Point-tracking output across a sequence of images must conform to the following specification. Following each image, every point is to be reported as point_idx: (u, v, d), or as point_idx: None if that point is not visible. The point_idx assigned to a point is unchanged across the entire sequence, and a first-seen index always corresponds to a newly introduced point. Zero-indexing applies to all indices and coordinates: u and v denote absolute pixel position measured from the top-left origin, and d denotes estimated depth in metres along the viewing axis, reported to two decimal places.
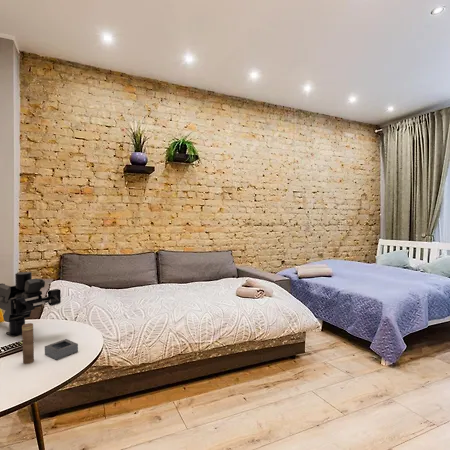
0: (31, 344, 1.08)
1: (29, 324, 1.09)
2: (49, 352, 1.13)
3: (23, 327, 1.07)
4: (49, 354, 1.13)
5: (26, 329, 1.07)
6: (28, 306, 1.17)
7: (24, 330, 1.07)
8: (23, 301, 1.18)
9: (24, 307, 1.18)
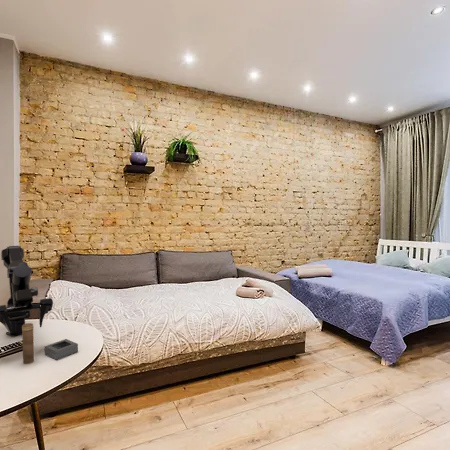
0: (31, 344, 1.08)
1: (29, 324, 1.09)
2: (49, 352, 1.13)
3: (23, 327, 1.07)
4: (49, 354, 1.13)
5: (26, 329, 1.07)
6: (7, 326, 1.09)
7: (24, 330, 1.07)
8: (5, 316, 1.10)
9: (5, 321, 1.11)
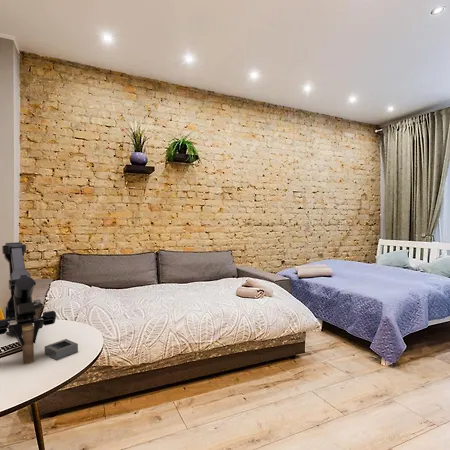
0: (31, 344, 1.08)
1: (29, 324, 1.09)
2: (49, 352, 1.13)
3: (23, 327, 1.07)
4: (49, 354, 1.13)
5: (26, 329, 1.07)
6: (18, 339, 1.07)
7: (24, 330, 1.07)
8: (17, 329, 1.08)
9: (16, 334, 1.09)
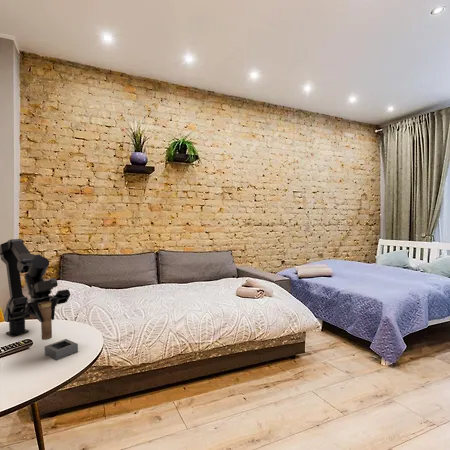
0: (50, 320, 1.12)
1: (47, 301, 1.12)
2: (49, 352, 1.13)
3: (42, 304, 1.10)
4: (49, 354, 1.13)
5: (46, 306, 1.10)
6: (38, 316, 1.10)
7: (44, 307, 1.10)
8: (35, 306, 1.10)
9: (34, 311, 1.11)
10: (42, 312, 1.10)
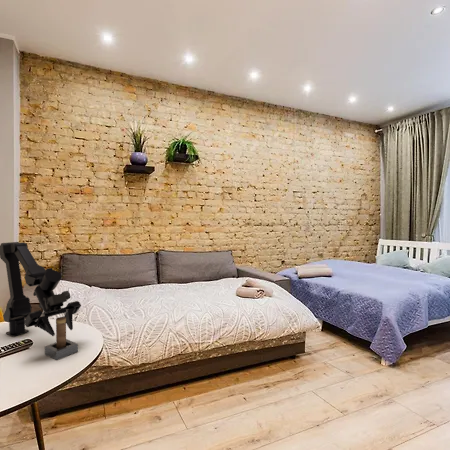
0: (65, 336, 1.15)
1: (62, 317, 1.16)
2: (49, 352, 1.13)
3: (58, 320, 1.14)
4: (49, 354, 1.13)
5: (61, 322, 1.14)
6: (49, 330, 1.12)
7: (59, 323, 1.14)
8: (46, 320, 1.12)
9: (45, 325, 1.13)
10: (58, 328, 1.14)
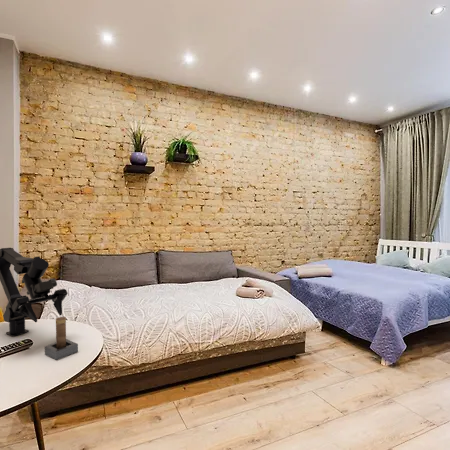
0: (65, 336, 1.15)
1: (62, 317, 1.16)
2: (49, 352, 1.13)
3: (58, 320, 1.14)
4: (49, 354, 1.13)
5: (61, 322, 1.14)
6: (32, 316, 1.16)
7: (59, 323, 1.14)
8: (29, 307, 1.16)
9: (28, 312, 1.17)
10: (58, 328, 1.14)
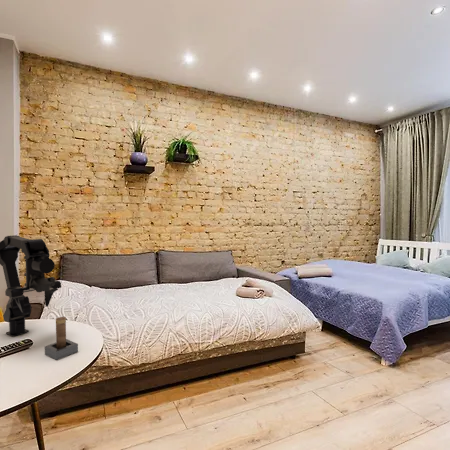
0: (65, 336, 1.15)
1: (62, 317, 1.16)
2: (49, 352, 1.13)
3: (58, 320, 1.14)
4: (49, 354, 1.13)
5: (61, 322, 1.14)
6: (20, 307, 1.21)
7: (59, 323, 1.14)
8: (21, 299, 1.20)
9: None
10: (57, 328, 1.14)
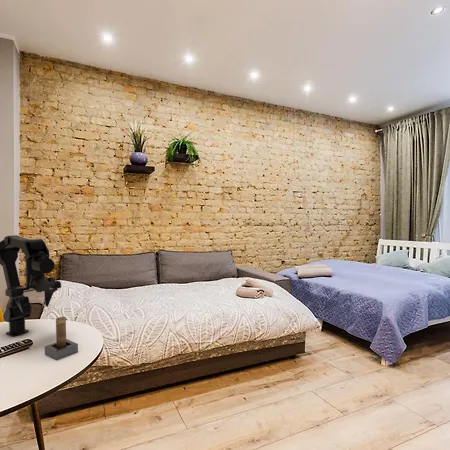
0: (65, 336, 1.15)
1: (62, 317, 1.16)
2: (49, 352, 1.13)
3: (58, 320, 1.14)
4: (49, 354, 1.13)
5: (61, 322, 1.14)
6: (20, 307, 1.21)
7: (59, 323, 1.14)
8: (21, 299, 1.20)
9: None
10: (58, 328, 1.14)
